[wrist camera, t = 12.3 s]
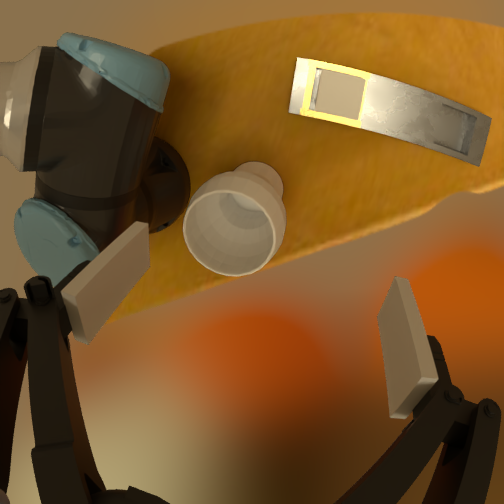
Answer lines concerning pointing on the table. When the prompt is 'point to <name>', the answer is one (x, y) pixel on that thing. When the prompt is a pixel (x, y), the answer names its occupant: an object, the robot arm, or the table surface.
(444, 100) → the grey peg hole board
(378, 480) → the robot arm
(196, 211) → the cup
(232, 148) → the table surface
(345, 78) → the peg
